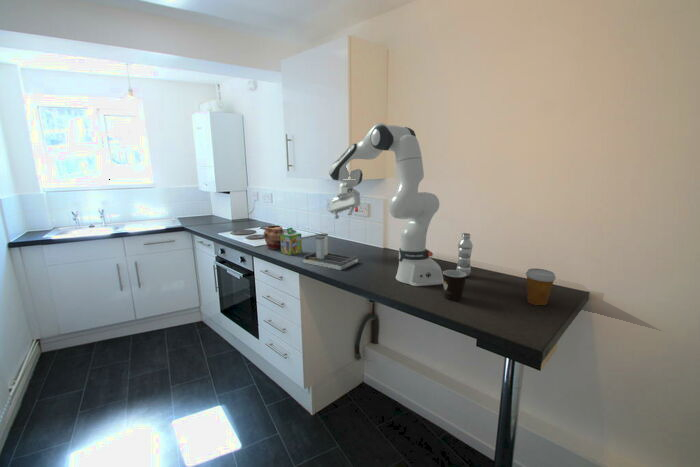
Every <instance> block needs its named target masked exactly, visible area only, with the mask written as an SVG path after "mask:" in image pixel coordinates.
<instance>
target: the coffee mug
mask: <svg viewBox="0 0 700 467" xmlns="http://www.w3.org/2000/svg"><path fill="white" fill-rule="evenodd" d="M442 274H443V284H442V285H443V298H444V299H445V300H447V301H449V302H460V301H461V300H462V299H463V298H462V297H463V294H464V288H465V283H466V280H467V277H466V273H464V272H462V271H458V270H456V269H447V270H442Z"/></svg>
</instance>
